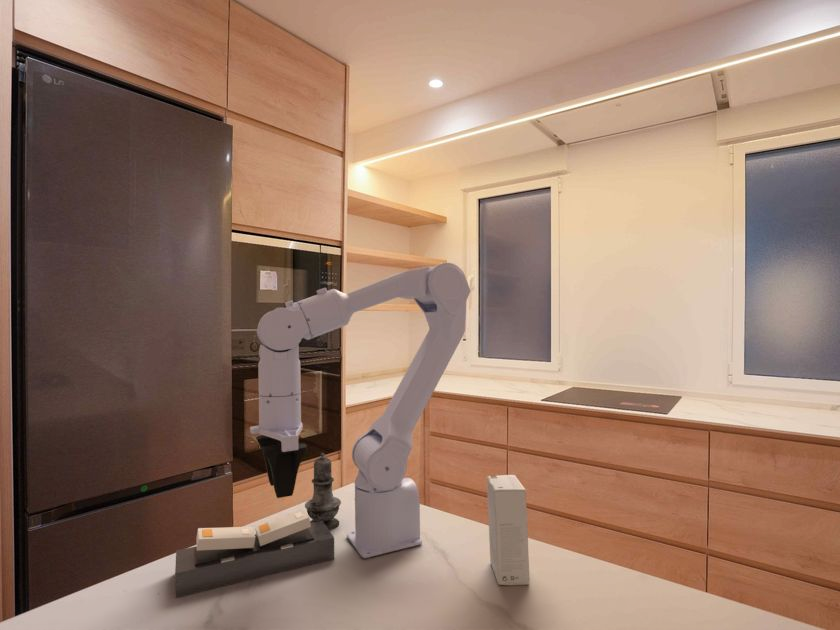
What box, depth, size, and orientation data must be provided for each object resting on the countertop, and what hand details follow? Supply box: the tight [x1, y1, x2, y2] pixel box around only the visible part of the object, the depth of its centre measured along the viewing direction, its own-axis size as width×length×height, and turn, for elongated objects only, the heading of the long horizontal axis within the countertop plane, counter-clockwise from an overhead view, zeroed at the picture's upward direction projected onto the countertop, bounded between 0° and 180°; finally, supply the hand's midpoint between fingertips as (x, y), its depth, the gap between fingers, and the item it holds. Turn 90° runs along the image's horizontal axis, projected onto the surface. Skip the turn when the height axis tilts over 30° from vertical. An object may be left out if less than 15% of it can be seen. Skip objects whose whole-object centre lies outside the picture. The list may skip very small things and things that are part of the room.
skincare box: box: [486, 474, 530, 586], centre depth 63 cm, size 6×4×12 cm
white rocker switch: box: [195, 526, 256, 551], centre depth 63 cm, size 7×4×2 cm, turn 116°
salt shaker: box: [304, 452, 342, 532], centre depth 78 cm, size 6×6×12 cm
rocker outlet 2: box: [254, 507, 311, 546], centre depth 67 cm, size 7×4×2 cm, turn 117°
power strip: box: [174, 521, 335, 599], centre depth 65 cm, size 20×6×3 cm, turn 116°
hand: (281, 489), depth 67 cm, fingers open, 5 cm apart
